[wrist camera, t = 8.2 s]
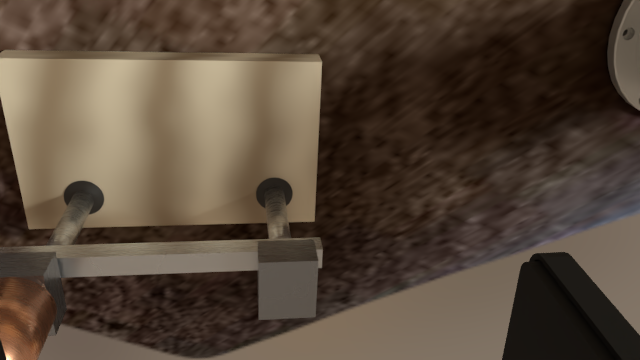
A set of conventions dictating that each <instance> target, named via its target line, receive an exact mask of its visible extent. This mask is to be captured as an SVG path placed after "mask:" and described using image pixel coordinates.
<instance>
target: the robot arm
mask: <svg viewBox="0 0 640 360" xmlns="http://www.w3.org/2000/svg"><path fill="white" fill-rule="evenodd" d="M607 57H608V69H609V73H610V77H611V81H612V83H613V85H614V87H615V88H616V90H617V92H618V94H619V95H620V96H621V97H622V98H623V99H624V100H625V101H626V102H627V103H628V104H630V105H631V106H633V107H634V108H636V109H638V110H640V0H624V1H623V3H622V5H621V7H620V9H619V11H618V13H617V15H616V17H615V19H614V23H613V26H612V29H611V32H610V35H609V43H608V50H607ZM0 360H7V358H6V355H5V352H4V349H3V346H2V342H1V339H0ZM502 360H640V335H639V334H638V333H637V332H636V331H635V330H634V328H633V327H632V326H631V325H630V324H629V323H628V321H627V320H626V319H625V318H624V317H623V316H622V314H621V313H620V312H619V311H618V310H617V309H616V307H615V306H614V305H613V304H612V303H611V302H610V300H609V299H608V298H607V297H606V296H605V295H604V294H603V292H602V291H601V290H600V289H599V288H598V287H597V285H596V284H595V283H594V282H593V281H592V280H591V278H590V277H589V276H588V275H587V274H586V273H585V271H584V270H583V269H582V268H581V267H580V266H579V265H578V263H577V262H576V261H575V260H574V259H573V258H572V256H570V255H569V254H568V253H565V252H558V253H557V252H556V253H537V254H534V255H532V257H531V258H530V261H529V262H525V263H523V264H522V266H521V269H520V274H519V279H518V283H517V289H516V293H515V298H514V304H513V309H512V314H511V318H510V323H509V328H508V333H507V338H506V343H505V348H504V353H503V358H502Z"/></svg>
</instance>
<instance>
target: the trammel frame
mask: <svg viewBox="0 0 640 360" xmlns="http://www.w3.org/2000/svg"><path fill="white" fill-rule="evenodd" d="M265 206H266V218H267V229H268V239H254V240H220V241H187V242H154V243H121V244H88V245H55V246H22V247H0V253H26V252H56V256H57V262H58V267H59V272H60V277H61V278H65V277H91V276H118V275H145V274H172V273H198V272H225V271H252V270H257V278H258V316H259V320H268V319H288V318H308V317H316V299H317V280H318V268H322V256H323V248H322V244H321V239H320V238H291V235H290V229H289V222H288V215H287V209H286V202H285V195H284V191H283V189H282V188H281V187H279V186H271V187H269V188H267V189H266V191H265Z"/></svg>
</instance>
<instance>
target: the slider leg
mask: <svg viewBox="0 0 640 360" xmlns="http://www.w3.org/2000/svg"><path fill="white" fill-rule="evenodd" d="M93 204H94V199H93V197H92V195H91V194H89V193H88V192H85V191H79V192H77V193H75V194H74V195H73V197H72V199H71V201H70V202H69V204H68V206H67V208H66V210H65V212H64V213H63V215H62V217H61V219H60V221H59V222H58V224H57V226H56V228H55V230H54V232H53V233H52V235H51V237H50V239H49V241H48V243H47V244H46V246H55V245H75V242H76V240H77V238H78V236H79V234H80V232H81V230H82V227H83V225H84V223H85V221H86V219H87V217H88V215H89V212H90V210H91V208H92V206H93ZM66 309H67V308H66V303H65V298H64V292H63V287H62V282H61V277H60V272H59V267H58V262H57V256H56V252H26V253H0V339H1V342H2V346H3V349H4V352H5V355H6V358H7V360H37V359H38V357H39V355H40V353H41V350H42V348H43V346H44V343H45V341H46V339H47V336H51V335H56V334H57V331H58V329H59V326H60V324H61V322H62V319H63V317H64V314H65V312H66Z"/></svg>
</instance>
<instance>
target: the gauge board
mask: <svg viewBox="0 0 640 360" xmlns="http://www.w3.org/2000/svg"><path fill="white" fill-rule="evenodd" d="M321 76H322V61H321V59H320V57H319V54H271V53H195V52H119V51H42V50H4V51H2V52H1V53H0V97H1V102H2V106H3V111H4V116H5V120H6V125H7V130H8V134H9V139H10V144H11V148H12V153H13V158H14V162H15V167H16V172H17V176H18V181H19V186H20V190H21V195H22V200H23V204H24V209H25V214H26V218H27V223H28V228H29V229H54V228H56V226H57V224H58V222H59V221H60V219H61V217H62V215H63V213H64V212H65V210H66V208H67V206H68V204H69V202H70V201H71V199H72V197H73V195H74V194H75V193H77V192H79V191H85V192H88V193H89V194H91V195H92V197H93V199H94V204H93V206H92V208H91V210H90V212H89V215H88V217H87V219H86V221H85V223H84V225H83V227H82V228H92V227H129V226H167V225H205V224H243V223H267V218H266V206H265V191H266V189H267V188H269V187H271V186H279V187H281V188H282V189H283V191H284V195H285V202H286V209H287V215H288V222H315V202H316V181H317V160H318V139H319V118H320V97H321Z"/></svg>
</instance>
